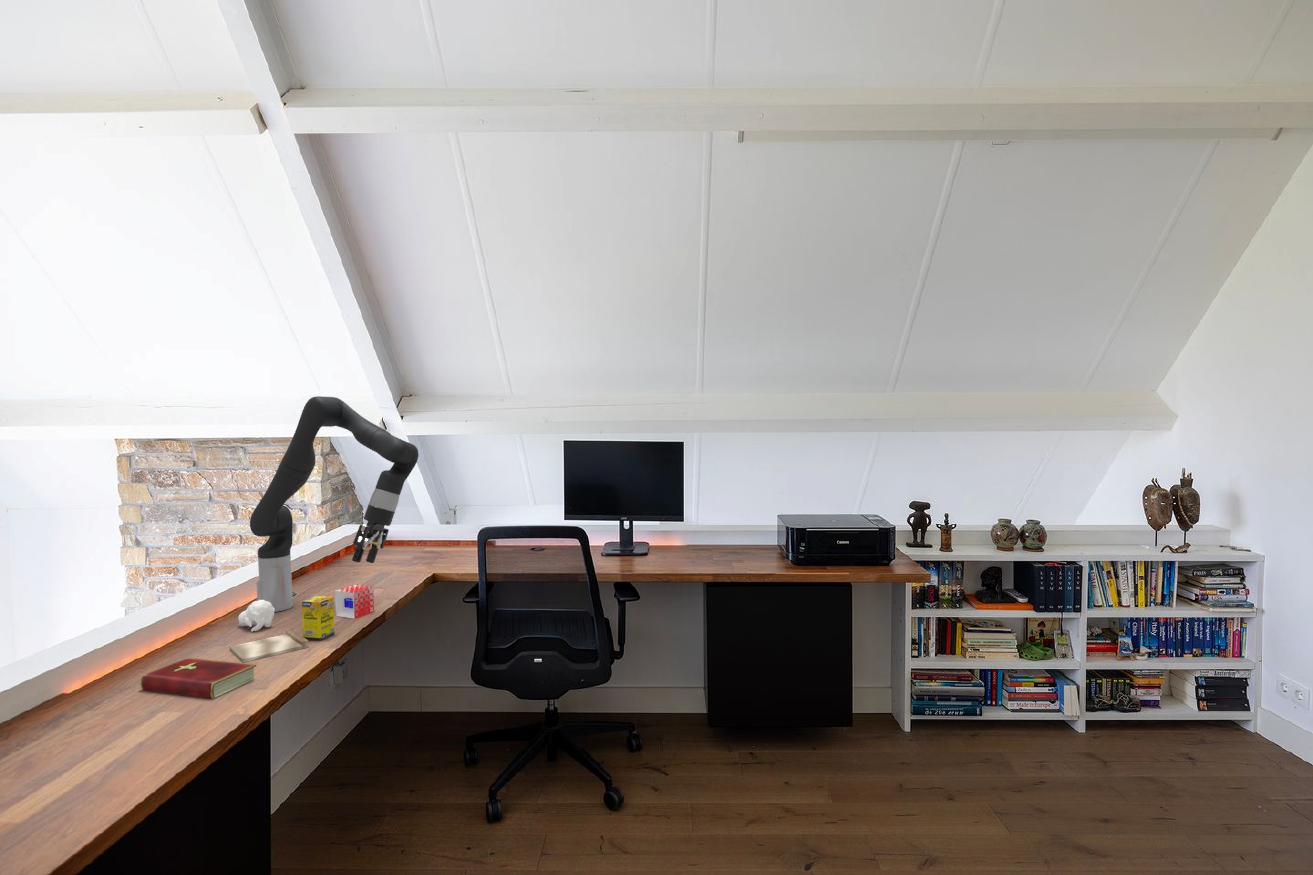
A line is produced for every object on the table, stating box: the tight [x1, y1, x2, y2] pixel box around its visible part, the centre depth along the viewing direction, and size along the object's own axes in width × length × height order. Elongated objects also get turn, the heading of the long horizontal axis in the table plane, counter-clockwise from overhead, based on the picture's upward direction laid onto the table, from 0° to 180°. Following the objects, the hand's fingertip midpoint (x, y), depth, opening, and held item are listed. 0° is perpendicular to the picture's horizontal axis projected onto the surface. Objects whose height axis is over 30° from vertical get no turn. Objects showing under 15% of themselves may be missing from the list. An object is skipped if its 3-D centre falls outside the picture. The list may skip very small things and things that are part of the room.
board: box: [229, 628, 309, 663], centre depth 191 cm, size 16×14×2 cm
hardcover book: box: [140, 657, 257, 700], centre depth 166 cm, size 12×21×4 cm, turn 74°
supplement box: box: [301, 595, 335, 642], centre depth 199 cm, size 6×6×11 cm
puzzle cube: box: [334, 584, 376, 619], centre depth 222 cm, size 8×8×8 cm
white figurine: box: [238, 600, 275, 633], centre depth 209 cm, size 6×8×12 cm
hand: (362, 562), depth 201 cm, fingers open, 8 cm apart
